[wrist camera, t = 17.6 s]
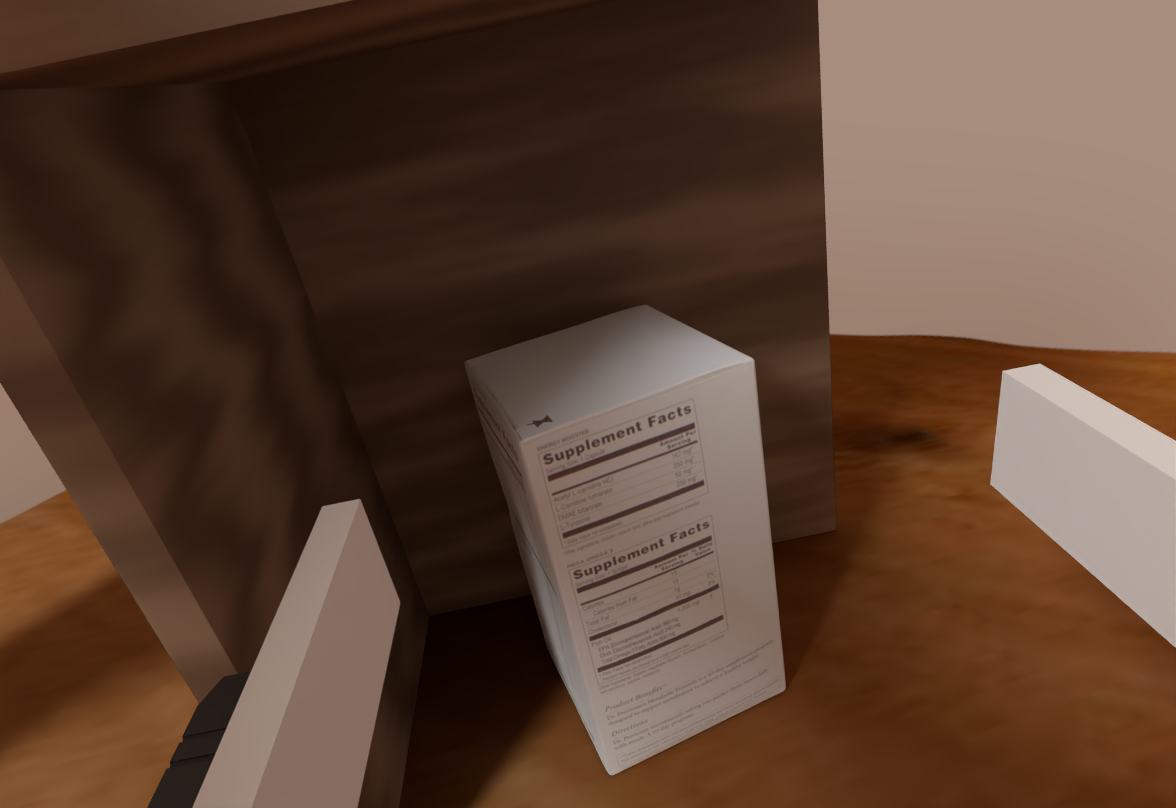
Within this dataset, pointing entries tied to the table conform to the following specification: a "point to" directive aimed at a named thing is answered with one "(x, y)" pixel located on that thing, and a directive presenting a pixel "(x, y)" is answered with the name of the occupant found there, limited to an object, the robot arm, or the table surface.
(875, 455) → the table surface
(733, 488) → the supplement box
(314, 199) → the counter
